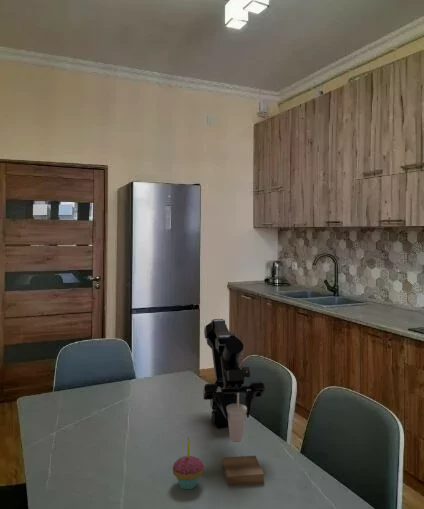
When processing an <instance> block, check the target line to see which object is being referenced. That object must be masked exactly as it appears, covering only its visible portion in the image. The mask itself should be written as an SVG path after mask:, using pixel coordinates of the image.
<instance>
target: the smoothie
mask: <svg viewBox="0 0 424 509" xmlns="http://www.w3.org/2000/svg"><path fill="white" fill-rule="evenodd" d="M236 395H237V400H236V404H230V405H228V406H227V407H226V410H227V415H228V425H229V426H228V432H229V440H230V441H231V442H234V443H240V442H242V441H243V435H244V428H245V422H246V417H247V415H246V413H247V407H246V406H245V404H241V403H240V393H236Z"/></svg>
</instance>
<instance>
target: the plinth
mask: <svg viewBox="0 0 424 509" xmlns="http://www.w3.org/2000/svg"><path fill="white" fill-rule="evenodd" d="M221 469H222V472H223V474H224V477H225V481H226V484H227V486H229V487H232V486H245V485H256V484H264V483H265V473H264V471H263V469H262V467H261V465H260V463H259V460H258V459H257V456H256V455H244V456H228V457H226V456H225V457H221Z"/></svg>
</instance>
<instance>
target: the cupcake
mask: <svg viewBox="0 0 424 509" xmlns="http://www.w3.org/2000/svg"><path fill="white" fill-rule="evenodd" d="M186 443H187V444H186V446H187V448H186V453H187V455H185V456H182V457H180V458H178V459H176V460H175V461H174V462H173V465H172V474H173V475H174V477H175V478H176V480H177V482H178V486H179V487H180V488H182V489H184V490H191V489H195V488H196V487H197V485H198V481H199V478H200V477H201V476H202V475H203V473H204V471H205V465H204V463H203V461H202V460H201V459H200V458H199V457H196V456H193V455H191V452H190V451H191V450H190V449H191V448H190V447H191V445H190V443H191V441H190V438H189V436H188V437H187V442H186Z"/></svg>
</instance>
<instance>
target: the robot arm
mask: <svg viewBox="0 0 424 509" xmlns="http://www.w3.org/2000/svg"><path fill="white" fill-rule="evenodd" d="M204 339H206V345H207V346H208V347H210V349H211V353H212V355H211V356H212V363H213V370H214V379H215V382H214V383H205V384H204V386H203V390H202V394H203V400H207V401H208V400H209V405H210V408H211V410H212V411H211V420H210V422H211V423H212V424H213V425H214V426H215V427H216V428H217V429H222V428H227V427H228V428H229V425H228V415H227V410H226V407H227V406H228V405H230V404H237V393H239V394H245V398H244V405H245V406H246V407H247V413H246V418H249V417H250V413H251V406H252V401H254V400H256V399H255V398H261V397H262V396H263V395H264V392H265V390H266V387H265V383H264V382H263V381H260V380H259V381H251V382H250V384H249V385H246V386H244V384H245V379H249V378H250V377H251V371H250V366H243V367H242V368H240V361H239V360H240V359H241V356H242V353H243V349H244V343H243V342H242V340H241V339H239V337H238V336H237V334H235V332H231V331H229V328H228V326H227V324H226V320H225V319H224V318H214V319H211V320H210V323H208V324H206V325H205V328H204Z"/></svg>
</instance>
